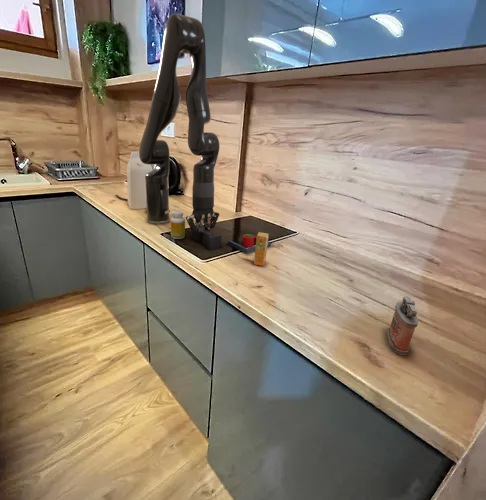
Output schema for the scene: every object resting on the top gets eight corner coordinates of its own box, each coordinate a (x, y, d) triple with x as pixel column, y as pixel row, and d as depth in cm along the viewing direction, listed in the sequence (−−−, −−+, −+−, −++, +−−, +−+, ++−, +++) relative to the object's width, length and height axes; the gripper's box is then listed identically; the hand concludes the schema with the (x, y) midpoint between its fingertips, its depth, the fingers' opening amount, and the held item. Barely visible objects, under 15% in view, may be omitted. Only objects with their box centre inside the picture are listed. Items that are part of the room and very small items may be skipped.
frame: (227, 244, 110) (228, 240, 110) (251, 238, 117) (251, 234, 117) (246, 253, 103) (247, 249, 103) (270, 246, 110) (271, 242, 110)
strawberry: (240, 244, 111) (241, 234, 109) (248, 242, 113) (248, 232, 112) (248, 248, 108) (248, 237, 107) (255, 245, 110) (256, 235, 109)
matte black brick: (188, 238, 115) (188, 226, 113) (199, 235, 118) (199, 224, 116) (209, 250, 105) (210, 237, 103) (220, 246, 108) (221, 235, 106)
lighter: (384, 328, 68) (396, 290, 64) (401, 332, 67) (414, 293, 63) (392, 352, 61) (405, 311, 57) (410, 356, 60) (426, 314, 56)
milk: (151, 201, 161) (148, 150, 151) (156, 207, 151) (153, 153, 141) (127, 203, 156) (123, 150, 146) (131, 209, 147) (127, 153, 136)
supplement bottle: (182, 240, 112) (182, 214, 109) (168, 238, 113) (168, 213, 110) (186, 235, 117) (186, 210, 113) (173, 233, 118) (173, 209, 114)
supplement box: (253, 264, 95) (255, 234, 91) (255, 260, 98) (258, 231, 94) (263, 266, 94) (266, 236, 90) (265, 262, 97) (269, 233, 93)
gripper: (212, 190, 112) (211, 234, 118) (180, 194, 103) (181, 241, 110) (225, 194, 106) (223, 239, 113) (192, 198, 98) (192, 247, 105)
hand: (202, 240), depth 112 cm, fingers closed
